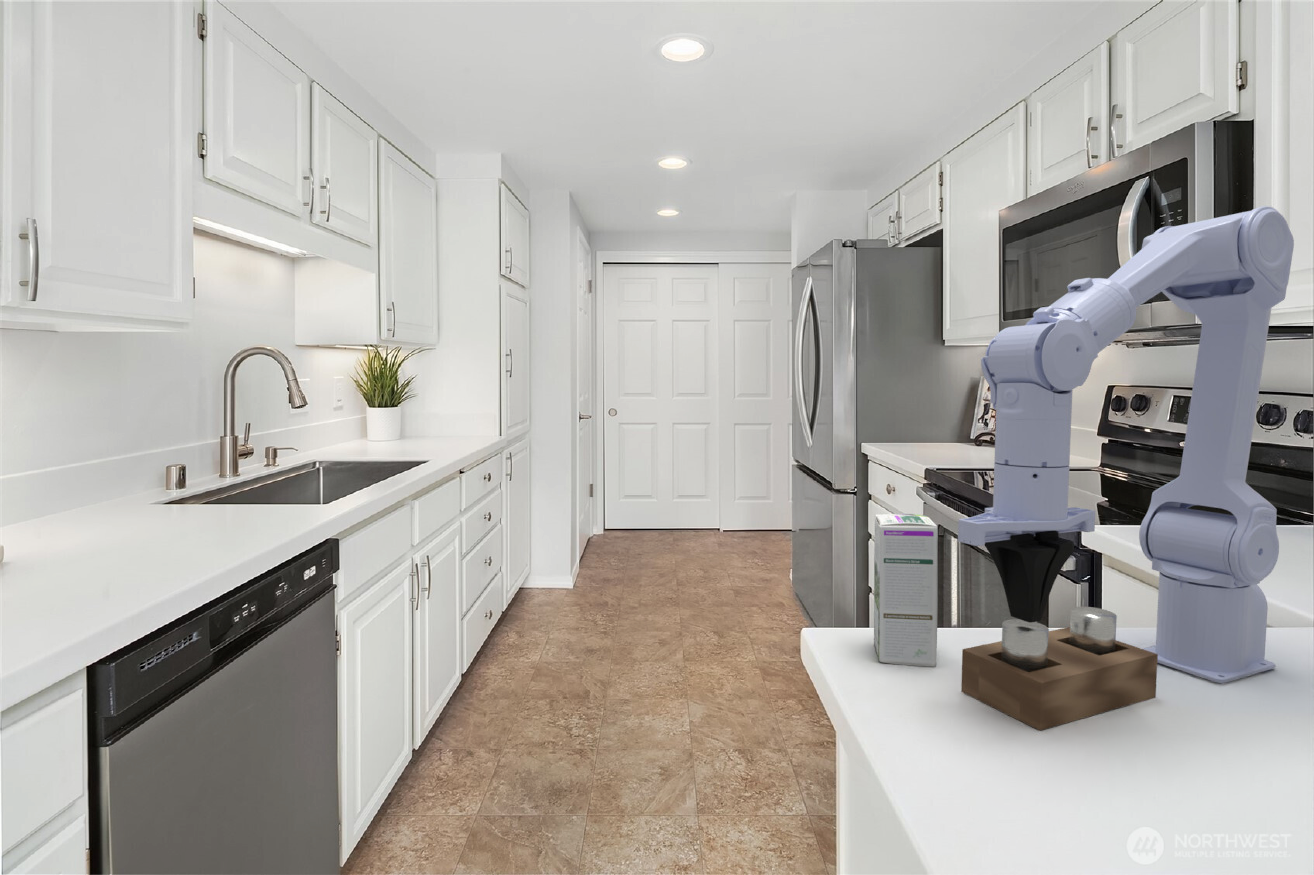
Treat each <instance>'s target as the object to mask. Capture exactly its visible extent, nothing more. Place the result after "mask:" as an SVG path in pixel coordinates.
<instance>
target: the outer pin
mask: <svg viewBox="0 0 1314 875" xmlns="http://www.w3.org/2000/svg"><path fill="white" fill-rule="evenodd" d="M1001 624H1002V628H1001V629H1002V632H1001V641H1002V652H1001V661H1003V662H1005V663H1007V664H1010V665H1012V666H1015V667H1017V668H1019V669H1022V670H1024V671H1026V672H1032V671H1037V670H1041V669H1045V668H1047V665H1048V639H1049V631H1050V629H1049V627H1048V626H1046V625H1045V624H1042V623H1040V622H1038V621H1037V622H1032V623H1030V622H1026V621H1023V620H1020V619H1017V618H1015V619H1014V618H1013V619H1007V620H1004V621H1002V623H1001Z"/></svg>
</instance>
